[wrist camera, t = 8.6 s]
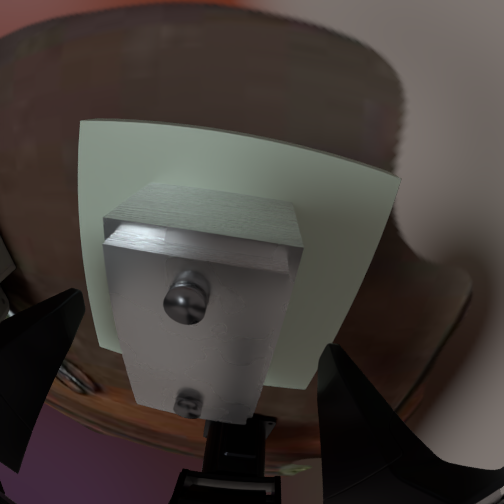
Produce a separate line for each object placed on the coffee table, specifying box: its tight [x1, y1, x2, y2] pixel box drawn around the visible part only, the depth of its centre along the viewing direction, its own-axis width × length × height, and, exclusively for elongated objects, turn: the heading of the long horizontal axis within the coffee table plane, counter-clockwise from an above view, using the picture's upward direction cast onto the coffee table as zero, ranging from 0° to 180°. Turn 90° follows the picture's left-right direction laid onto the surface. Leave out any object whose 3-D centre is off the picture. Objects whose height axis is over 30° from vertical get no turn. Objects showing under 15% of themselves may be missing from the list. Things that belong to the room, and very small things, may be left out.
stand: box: [78, 118, 401, 389], centre depth 13 cm, size 12×12×4 cm
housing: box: [102, 183, 304, 425], centre depth 9 cm, size 5×8×4 cm, turn 171°
